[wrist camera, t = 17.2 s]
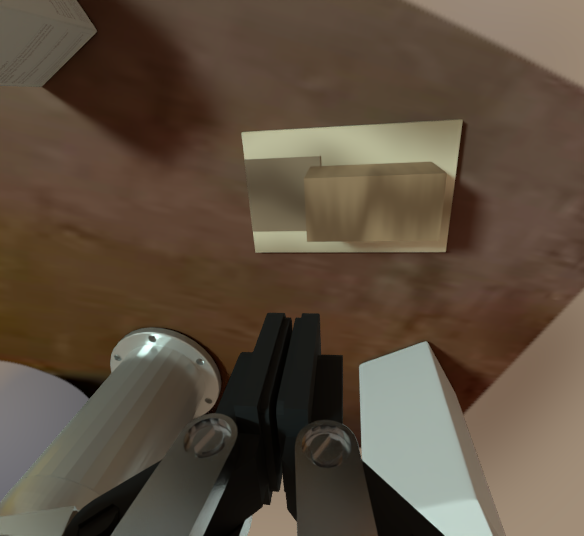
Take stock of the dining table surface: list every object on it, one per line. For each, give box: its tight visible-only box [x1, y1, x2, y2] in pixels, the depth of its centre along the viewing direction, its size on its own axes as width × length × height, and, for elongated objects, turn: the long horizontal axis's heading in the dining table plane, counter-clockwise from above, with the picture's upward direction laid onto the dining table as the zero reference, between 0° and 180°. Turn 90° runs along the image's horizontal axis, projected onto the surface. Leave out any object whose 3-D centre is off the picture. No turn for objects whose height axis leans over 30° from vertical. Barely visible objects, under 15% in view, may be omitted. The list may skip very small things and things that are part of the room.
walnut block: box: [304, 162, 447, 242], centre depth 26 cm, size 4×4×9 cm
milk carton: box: [359, 342, 506, 536], centre depth 27 cm, size 7×7×19 cm
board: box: [242, 119, 463, 252], centre depth 28 cm, size 10×16×1 cm, turn 94°
